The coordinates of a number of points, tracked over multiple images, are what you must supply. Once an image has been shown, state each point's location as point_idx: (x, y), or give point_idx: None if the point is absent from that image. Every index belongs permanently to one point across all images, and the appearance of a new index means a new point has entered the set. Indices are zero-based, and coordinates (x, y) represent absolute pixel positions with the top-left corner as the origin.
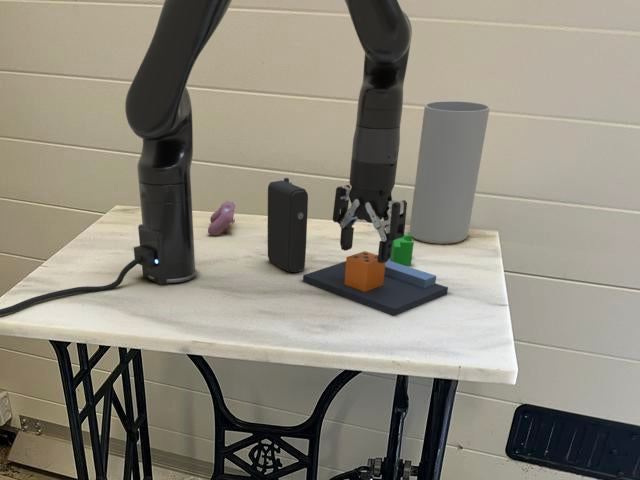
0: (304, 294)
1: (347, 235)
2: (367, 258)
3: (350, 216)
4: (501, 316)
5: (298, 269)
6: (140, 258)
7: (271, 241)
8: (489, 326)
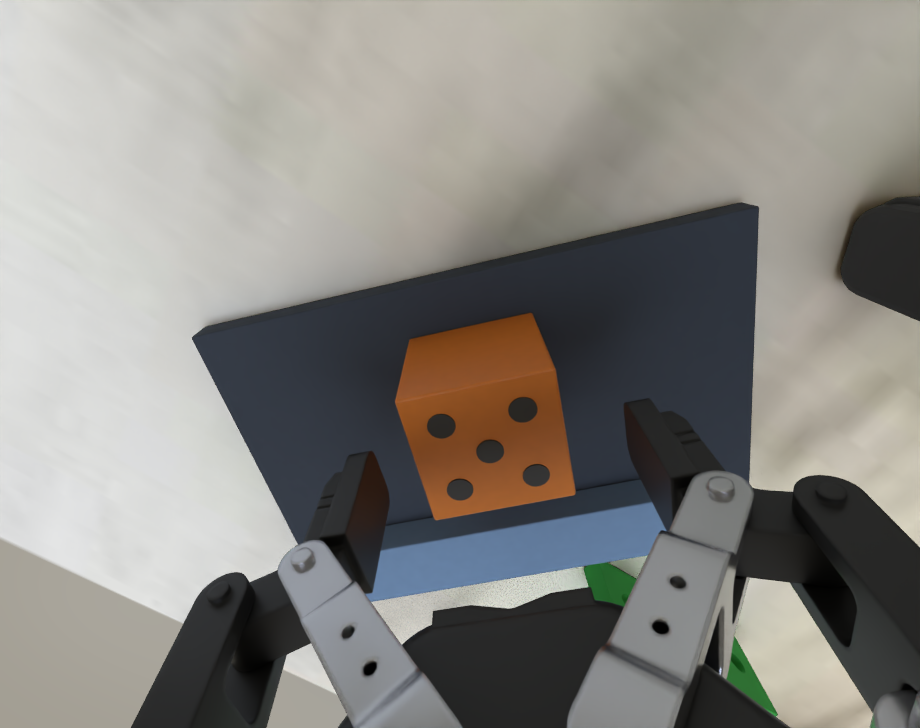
0: (601, 108)
1: (654, 469)
2: (471, 447)
3: (650, 566)
4: (110, 589)
5: (853, 251)
6: None
7: None
8: (39, 526)
